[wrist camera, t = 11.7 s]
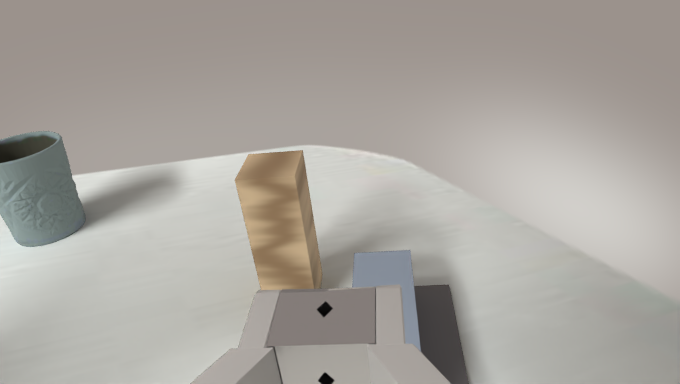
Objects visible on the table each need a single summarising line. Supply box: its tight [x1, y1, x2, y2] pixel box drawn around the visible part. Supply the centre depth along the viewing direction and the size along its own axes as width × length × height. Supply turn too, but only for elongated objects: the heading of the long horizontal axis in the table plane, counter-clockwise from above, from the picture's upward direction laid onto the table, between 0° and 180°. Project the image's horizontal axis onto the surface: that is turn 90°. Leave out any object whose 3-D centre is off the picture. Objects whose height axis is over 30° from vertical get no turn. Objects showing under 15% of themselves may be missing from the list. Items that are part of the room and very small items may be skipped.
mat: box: [414, 285, 469, 384], centre depth 42 cm, size 12×14×1 cm
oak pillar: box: [235, 150, 322, 290], centre depth 46 cm, size 5×5×14 cm
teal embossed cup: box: [0, 131, 85, 247], centre depth 63 cm, size 10×10×12 cm
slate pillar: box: [352, 250, 421, 351], centre depth 39 cm, size 5×5×14 cm
